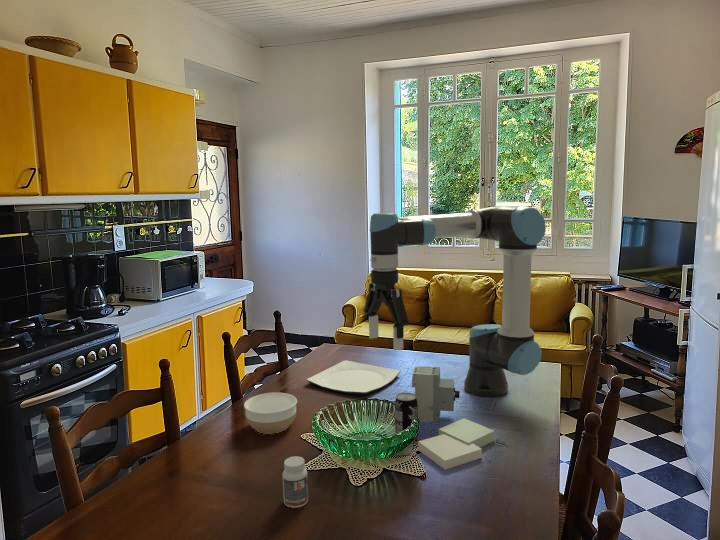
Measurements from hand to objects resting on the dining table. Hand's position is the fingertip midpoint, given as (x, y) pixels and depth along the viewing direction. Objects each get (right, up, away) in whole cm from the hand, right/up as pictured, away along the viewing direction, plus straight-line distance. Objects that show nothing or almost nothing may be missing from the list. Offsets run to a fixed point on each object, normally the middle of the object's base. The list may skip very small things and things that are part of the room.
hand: (385, 343), depth 149 cm
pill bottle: (-22, -33, -27) cm, 48 cm away
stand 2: (+17, -29, -7) cm, 34 cm away
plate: (-9, -22, +50) cm, 55 cm away
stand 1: (+23, -27, +1) cm, 36 cm away
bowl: (-34, -27, +12) cm, 45 cm away
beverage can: (+6, -28, +4) cm, 29 cm away
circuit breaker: (+17, -26, +16) cm, 35 cm away
